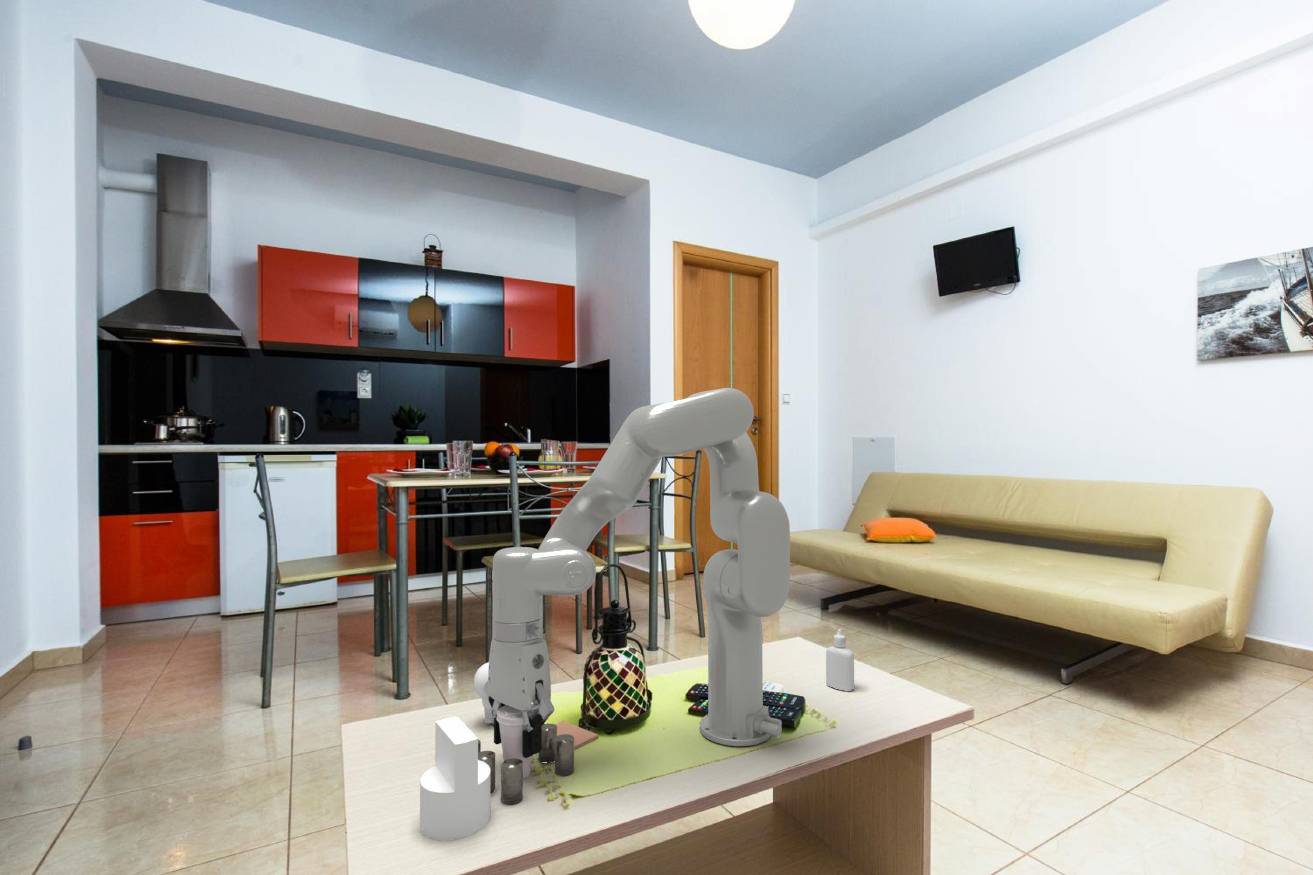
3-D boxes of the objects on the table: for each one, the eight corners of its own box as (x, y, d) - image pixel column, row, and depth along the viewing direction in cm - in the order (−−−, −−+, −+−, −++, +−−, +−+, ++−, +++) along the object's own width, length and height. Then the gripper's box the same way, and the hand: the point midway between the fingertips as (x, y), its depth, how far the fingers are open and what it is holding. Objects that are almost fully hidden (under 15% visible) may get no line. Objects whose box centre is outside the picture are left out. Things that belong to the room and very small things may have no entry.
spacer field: (582, 767, 99) (582, 735, 99) (504, 810, 87) (504, 773, 87) (528, 743, 107) (528, 713, 107) (450, 779, 96) (450, 746, 96)
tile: (598, 737, 109) (598, 734, 109) (563, 754, 103) (563, 751, 103) (562, 723, 115) (562, 720, 115) (527, 739, 109) (527, 736, 109)
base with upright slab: (500, 824, 84) (500, 732, 84) (431, 849, 79) (431, 751, 79) (476, 794, 92) (477, 710, 92) (412, 815, 86) (412, 726, 87)
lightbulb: (488, 734, 111) (489, 670, 111) (466, 724, 115) (466, 663, 115) (517, 721, 116) (517, 661, 116) (494, 713, 120) (495, 654, 120)
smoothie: (547, 773, 97) (547, 681, 97) (511, 789, 93) (511, 693, 93) (523, 758, 102) (524, 671, 102) (487, 773, 97) (488, 681, 97)
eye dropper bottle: (842, 681, 135) (841, 625, 136) (857, 691, 130) (856, 632, 130) (823, 683, 134) (823, 626, 134) (837, 693, 129) (837, 634, 129)
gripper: (574, 634, 95) (574, 755, 95) (502, 615, 106) (502, 724, 106) (535, 646, 89) (535, 775, 89) (463, 624, 100) (463, 740, 100)
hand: (517, 746), depth 97 cm, fingers closed on smoothie, 6 cm apart
